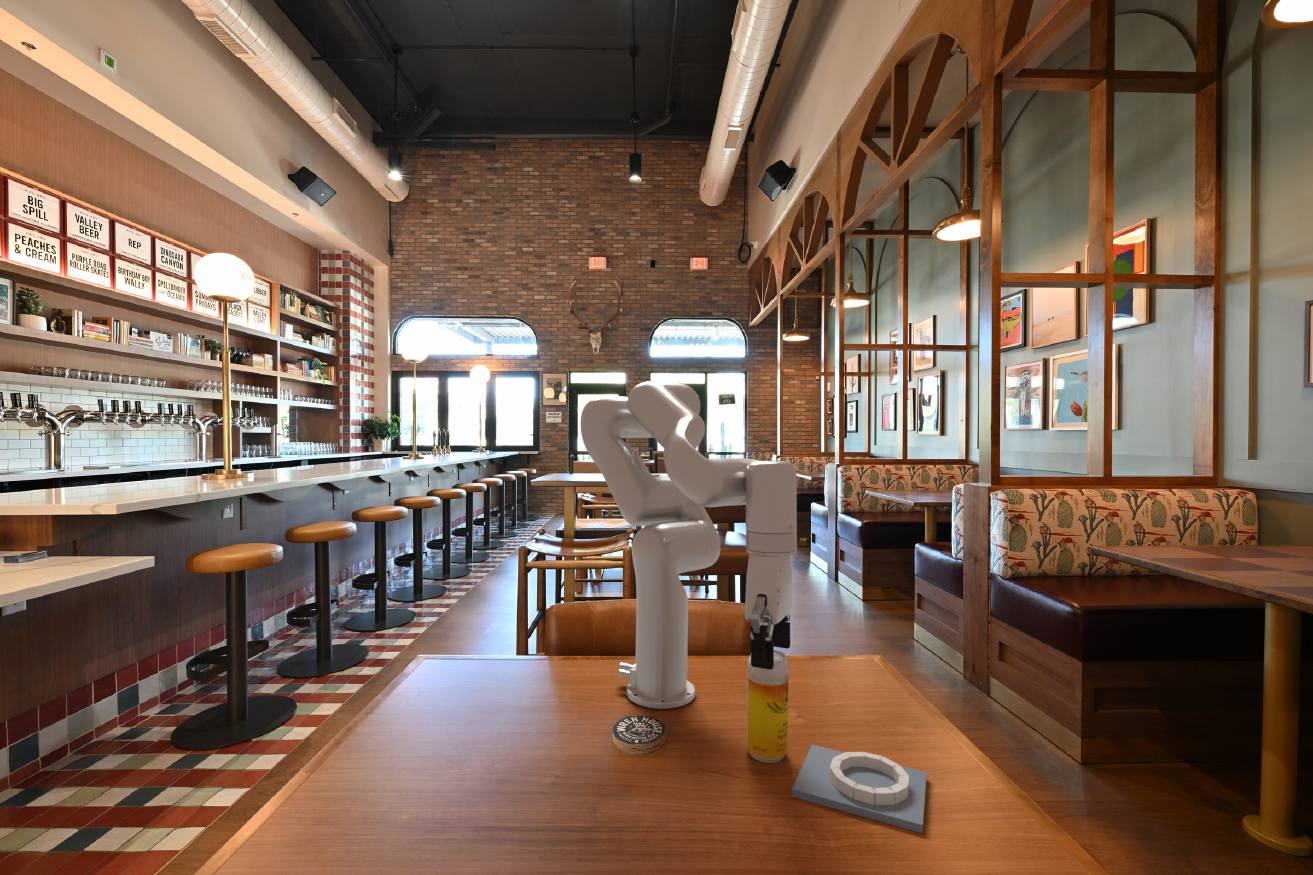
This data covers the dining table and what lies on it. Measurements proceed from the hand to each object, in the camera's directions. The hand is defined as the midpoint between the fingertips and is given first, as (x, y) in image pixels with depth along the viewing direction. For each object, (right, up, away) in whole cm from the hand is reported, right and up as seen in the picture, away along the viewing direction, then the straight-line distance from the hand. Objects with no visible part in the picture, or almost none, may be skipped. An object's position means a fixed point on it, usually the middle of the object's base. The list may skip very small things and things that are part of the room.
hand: (771, 656), depth 91 cm
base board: (+11, -15, -8) cm, 20 cm away
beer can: (-1, -15, +1) cm, 15 cm away
